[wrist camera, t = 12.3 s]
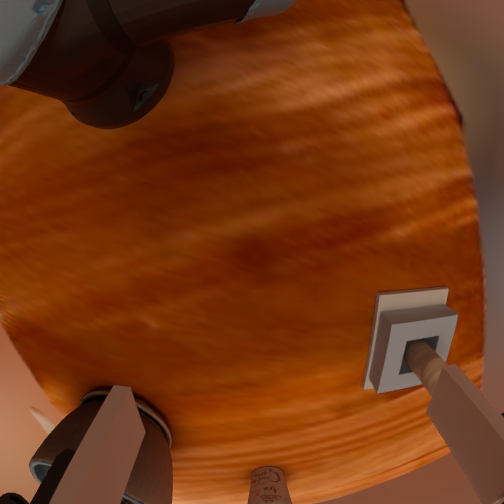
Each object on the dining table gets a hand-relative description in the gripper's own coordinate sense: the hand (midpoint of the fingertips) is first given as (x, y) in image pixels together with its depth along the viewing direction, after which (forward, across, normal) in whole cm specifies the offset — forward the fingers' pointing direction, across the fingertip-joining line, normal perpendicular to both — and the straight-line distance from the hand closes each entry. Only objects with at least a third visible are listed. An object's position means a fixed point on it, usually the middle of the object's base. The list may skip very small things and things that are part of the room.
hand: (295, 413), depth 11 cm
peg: (+26, +21, -14) cm, 36 cm away
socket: (+27, +21, -14) cm, 37 cm away
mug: (+27, 0, -47) cm, 54 cm away
